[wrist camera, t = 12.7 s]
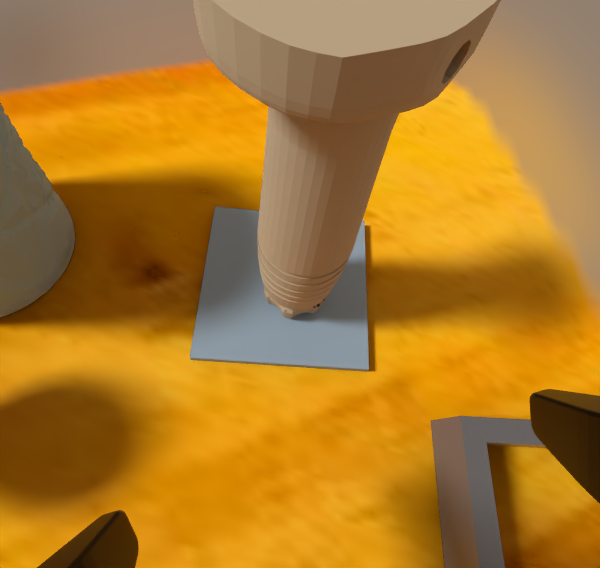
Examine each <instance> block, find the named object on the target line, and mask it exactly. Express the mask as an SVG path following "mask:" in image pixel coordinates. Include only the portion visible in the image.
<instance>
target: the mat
mask: <svg viewBox="0 0 600 568" xmlns="http://www.w3.org/2000/svg"><path fill="white" fill-rule="evenodd" d="M258 220H259V211H258V210H248V209H237V208H227V207H217V206H215V209H214V215H213V221H212V227H211V233H210V239H209V245H208V251H207V257H206V263H205V269H204V275H203V281H202V287H201V293H200V299H199V305H198V311H197V317H196V323H195V329H194V335H193V341H192V347H191V352H190V359H191V360H202V361H217V362H232V363H247V364H263V365H278V366H293V367H308V368H323V369H338V370H353V371H368V370H369V353H368V321H367V289H366V257H365V225H364V221H362V223H361V226H360V229H359V232H358V235H357V238H356V242H355V245H354V248H353V251H352V252H351V255H350V257H349V259H348V261H347V264H346V266H345V268H344V270H343V271H342V273H341V275H340V277H339V278H338V280H337V282H336V284H335V285H334V287H333V288H332V290H331V291H330V292H329V294H328V295H327V296H326V297H325V301H324V303H323V304H322V306H321V307H320V308H319V309H318V310H317V311H316V312H314V313H309V312H305V313H300V314H298V315H295V316H294V317H293V318H291V319H290V318H286V317H283V316H282V313H281V311H280V310H279V309H278V308H277V307H276V306H274V305H272V304H269V303H268V302H267V300H266V297H265V294H264V288H265V286H264V284H263V281H262V277H261V273H260V268H259V260H258V242H257V235H258V234H257V231H258Z"/></svg>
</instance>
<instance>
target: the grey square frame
mask: <svg viewBox="0 0 600 568" xmlns="http://www.w3.org/2000/svg"><path fill="white" fill-rule="evenodd" d="M431 428H432V438H433V449H434V460H435V470H436V481H437V492H438V502H439V513H440V524H441V534H442V545H443V556H444V566H445V568H505V564H504V558H503V551H502V544H501V537H500V531H499V524H498V517H497V510H496V504H495V497H494V490H493V483H492V477H491V470H490V463H489V456H488V450H487V445H498V446H517V447H536V448H546V447H545V446H544V445H543V443H542V442H541V441H540V440H539V439H538V438H537V437H536V435H535V433H534V431H533V429H532V426H531V420H521V419H503V418H486V417H469V416H457V417H451V418H444V419H438V420H431Z"/></svg>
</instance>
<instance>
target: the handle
mask: <svg viewBox="0 0 600 568" xmlns="http://www.w3.org/2000/svg"><path fill="white" fill-rule="evenodd" d="M500 1H501V0H193V3H194V9H195V16H196V20H197V24H198V28H199V32H200V37H201V40H202V43H203V45H204V47H205V50H206V52H207V54H208V56H209V59H210V60H211V61H212V62H213V63H214V64H215V66H216V67H217V68H218V69H219V70H220V72H221V73H222V74H223V75H224V76H226V77H227V78H228V79H229V80H230V81H232V82H233V83H234V84H235V85H236V86H238V87H239V88H240V89H241V90H243V91H245V92H246V93H248V94H249V95H251V96H253V97H254V98H256V99H257V100H259V101H261V102H262V103H264V104H266V105H267V106H269V108H268V121H267V133H266V145H265V158H264V170H263V180H262V190H261V200H260V210H259V220H258V231H257V234H258V235H257V242H258V260H259V268H260V273H261V277H262V281H263V284H264V286H265V288H264V294H265V297H266V300H267V302H268V303H269V304H272V305H274V306H276V307H277V308H278V309H279V310H280V311H281V313H282V316H283V317H286V318H290V319H291V318H293V317H294V316H295V315H298V314H300V313H305V312H309V313H314V312H316V311H317V310H318V309H319V308H320V307H321V306H322V304H323V303H324V301H325V297H326V296H327V295H328V294H329V292H330V291H331V290H332V288H333V287H334V285H335V284H336V282H337V280H338V278H339V277H340V275H341V273H342V271H343V270H344V268H345V266H346V264H347V261H348V259H349V257H350V255H351V252H352V251H353V248H354V245H355V242H356V238H357V235H358V232H359V229H360V226H361V223H362V220H363V216H364V213H365V210H366V207H367V204H368V201H369V197H370V194H371V191H372V188H373V185H374V182H375V179H376V176H377V173H378V170H379V167H380V164H381V161H382V158H383V155H384V152H385V149H386V146H387V143H388V140H389V137H390V134H391V131H392V129H393V126H394V124H395V122H396V119H397V117H398V114H399V113H401V112H405V111H409V110H412V109H415V108H418V107H421V106H424V105H425V104H427V103H429V102H430V101H432V100H433V99H435V98H437V97H438V96H439V94H440V93H441V92H442V91H443V90H444V89H445V87H446V86H447V85H448V84H449V83H450V82H451V80H452V79H453V78H454V77H455V75H456V74H457V73H458V72H459V70H460V69H461V68H462V67H463V65H464V64H465V63H466V61H467V60H468V59H469V58H470V56H471V55H472V54H473V53H474V51H475V49H476V47H477V45H478V43H479V42H480V40H481V38H482V36H483V34H484V32H485V30H486V29H487V27H488V25H489V23H490V21H491V19H492V17H493V15H494V12H495V11H496V9H497V7H498V5H499V3H500Z"/></svg>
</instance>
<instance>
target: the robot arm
mask: <svg viewBox="0 0 600 568" xmlns="http://www.w3.org/2000/svg"><path fill="white" fill-rule="evenodd" d="M530 415H531V426H532V429H533V431H534V433H535V435H536V437H537V438H538V439H539V440H540V441H541V442H542V443H543V445H544V446H545V447H546V448H547V449H548V450H549V451H550V452H551V453H552V454H553V455H554V456H555V458H556V459H557V460H558V461H559V462H560V463H561V464H562V465H563V466H564V467H565V468H566V470H567V471H568V472H569V473H570V474H571V475H572V476H573V477H574V478H575V479H576V480H577V481H578V483H579V484H580V485H581V486H582V487H583V488H584V489H585V490H586V491H587V492H588V493H589V494H590V495H591V496H592V497H593V498H594V499H596V500H597V501H598V502H599V503H600V396H596V395H589V394H582V393H575V392H567V391H560V390H553V389H546V390H542V391H539V392H535V393H533V394H532V395H531V396H530ZM137 556H138V540H137V537H136V535H135V532H134V530H133V528H132V526H131V524H130V522H129V520H128V517H127V515H126V514H125V512H124V511H122V510H118V511H114V512H111V513H107V514H104V515H102V516H100V517H99V518H98V519H97V520H95V521H94V522H93V523H92V524H90V525H89V526H88V527H87V528H85V529H84V530H83V531H82V532H80V533H79V534H78V535H77V536H75V537H74V538H73V539H72V540H71V541H69V542H68V543H67V544H66V545H64V546H63V547H62V548H61V549H59V550H58V551H57V552H56V553H54V554H53V555H52V556H51V557H50V558H48V559H47V560H46V561H45V562H43V563H42V564H41V565H40V566H38V567H37V568H135V565H136V561H137Z"/></svg>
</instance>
